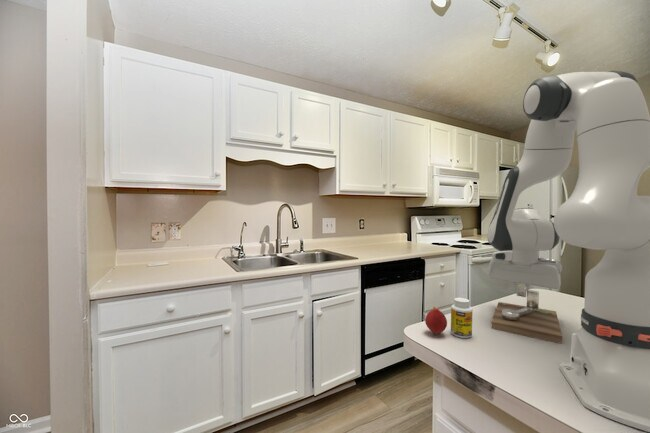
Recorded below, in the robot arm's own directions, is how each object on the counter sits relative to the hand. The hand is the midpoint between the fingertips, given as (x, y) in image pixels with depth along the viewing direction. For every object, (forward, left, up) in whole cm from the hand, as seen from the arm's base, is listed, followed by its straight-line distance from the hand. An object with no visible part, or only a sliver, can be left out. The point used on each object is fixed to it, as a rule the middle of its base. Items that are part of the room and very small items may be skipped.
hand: (521, 296), depth 97 cm
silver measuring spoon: (-7, 0, -4) cm, 8 cm away
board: (-7, -1, -7) cm, 10 cm away
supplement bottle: (-29, +13, -7) cm, 32 cm away
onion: (-33, +19, -7) cm, 38 cm away
